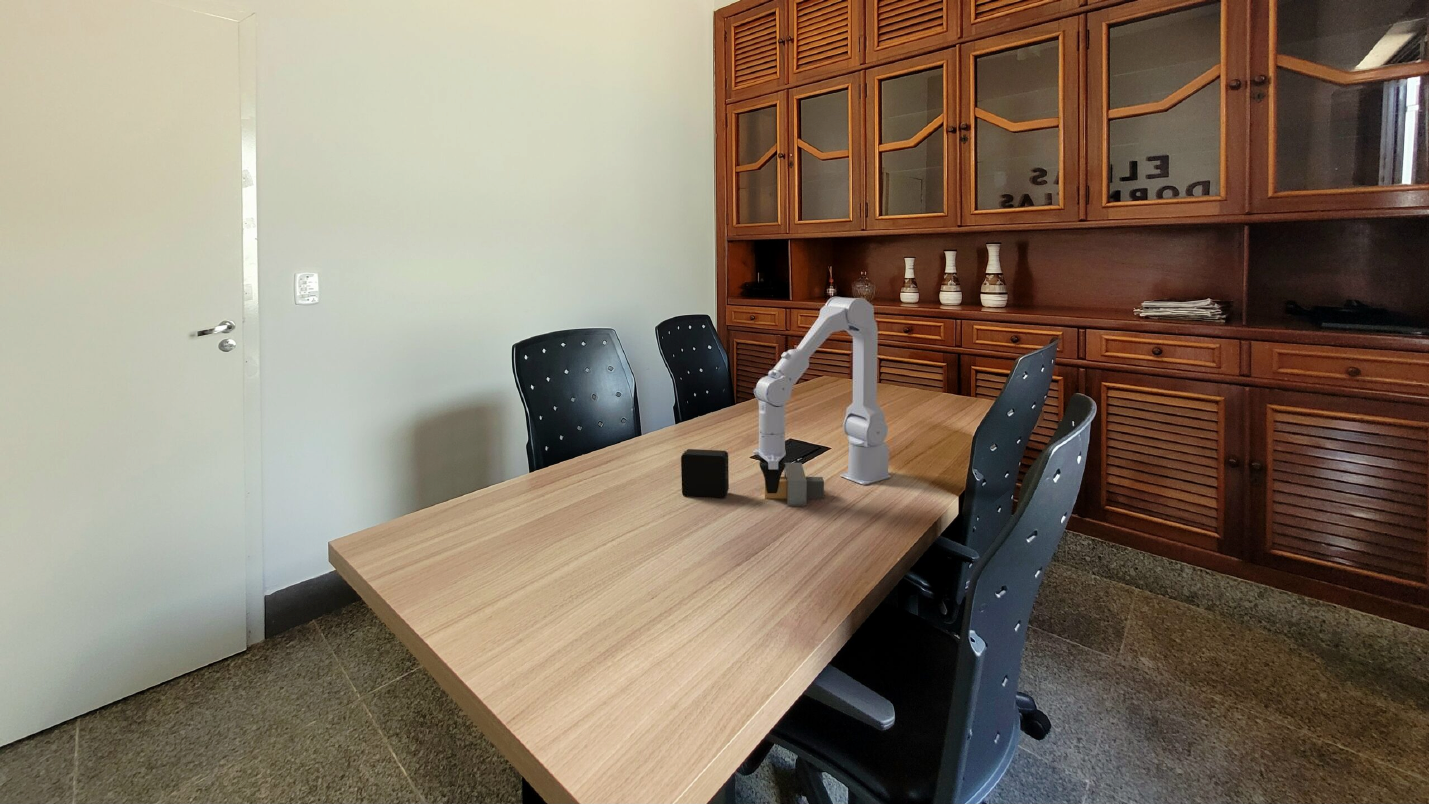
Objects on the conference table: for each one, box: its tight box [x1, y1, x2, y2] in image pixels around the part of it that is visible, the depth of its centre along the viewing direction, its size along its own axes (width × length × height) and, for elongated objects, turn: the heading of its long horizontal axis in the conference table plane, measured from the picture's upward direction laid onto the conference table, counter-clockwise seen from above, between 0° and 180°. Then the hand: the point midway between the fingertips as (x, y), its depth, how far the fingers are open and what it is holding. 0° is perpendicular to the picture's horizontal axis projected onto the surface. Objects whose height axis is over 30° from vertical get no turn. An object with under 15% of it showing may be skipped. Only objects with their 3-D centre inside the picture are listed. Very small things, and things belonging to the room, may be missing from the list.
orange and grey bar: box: [763, 476, 825, 500], centre depth 136 cm, size 13×3×4 cm, turn 87°
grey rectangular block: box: [783, 462, 807, 507], centre depth 136 cm, size 4×12×6 cm, turn 177°
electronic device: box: [680, 448, 730, 500], centre depth 137 cm, size 4×10×10 cm, turn 78°
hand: (771, 489), depth 137 cm, fingers closed on orange and grey bar, 3 cm apart
